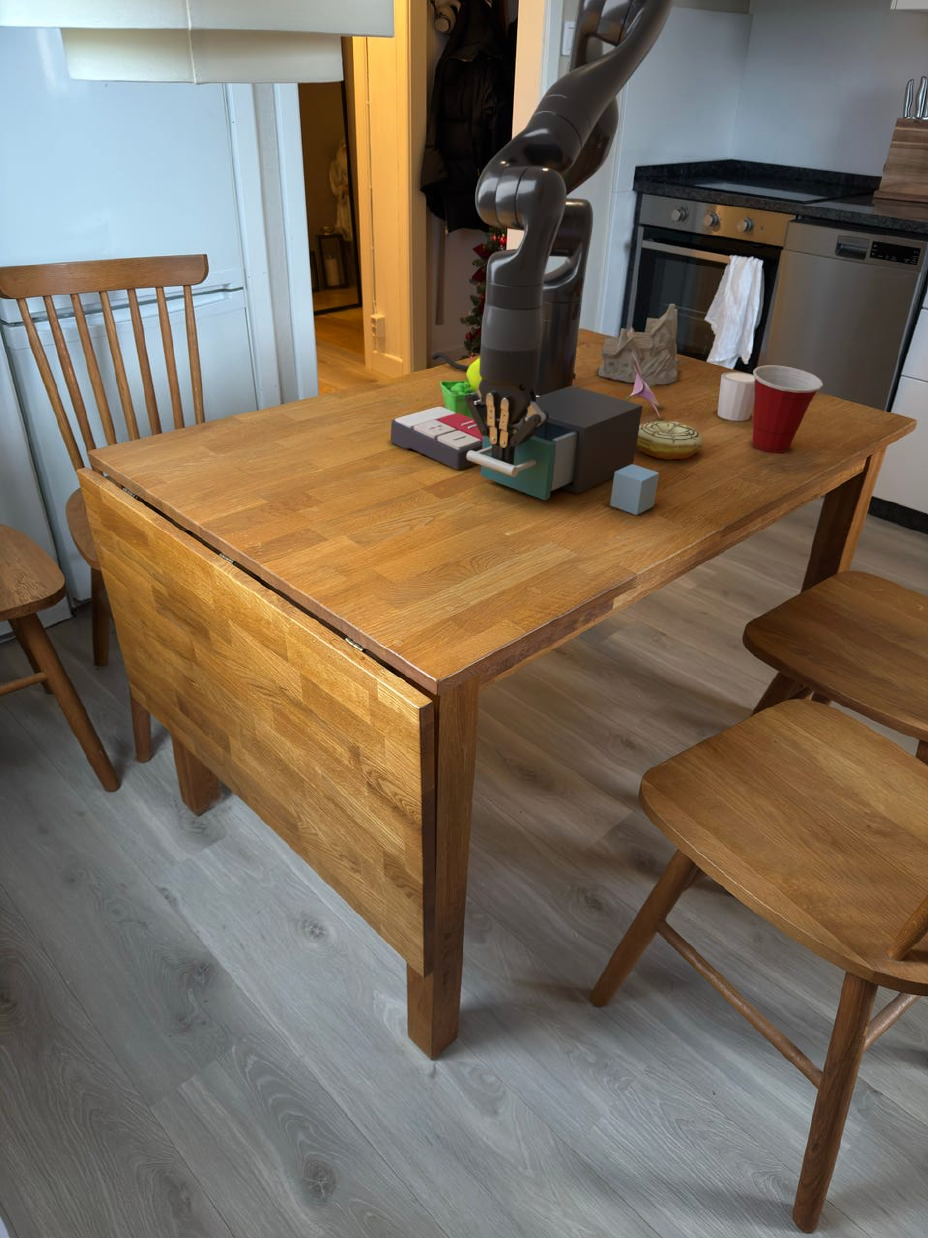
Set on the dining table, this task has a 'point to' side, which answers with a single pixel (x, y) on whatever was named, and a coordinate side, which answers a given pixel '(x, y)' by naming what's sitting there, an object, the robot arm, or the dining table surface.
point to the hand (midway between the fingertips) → (501, 470)
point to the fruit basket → (461, 390)
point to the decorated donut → (668, 440)
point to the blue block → (634, 489)
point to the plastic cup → (780, 405)
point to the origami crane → (643, 389)
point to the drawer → (533, 461)
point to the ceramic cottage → (644, 352)
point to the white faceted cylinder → (736, 396)
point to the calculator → (438, 435)
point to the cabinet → (595, 432)
